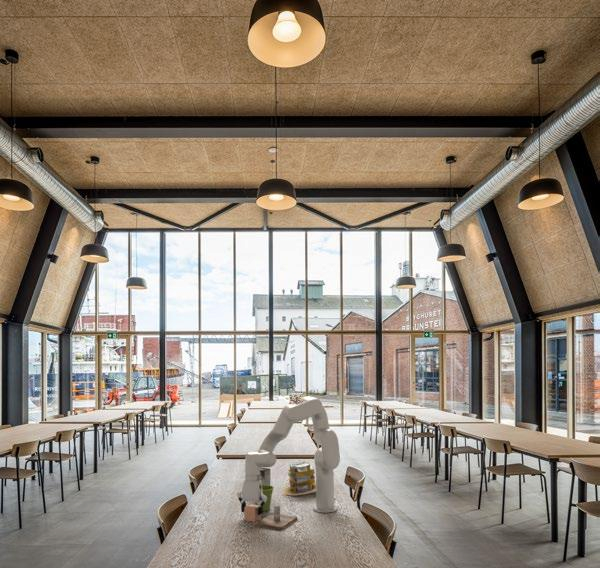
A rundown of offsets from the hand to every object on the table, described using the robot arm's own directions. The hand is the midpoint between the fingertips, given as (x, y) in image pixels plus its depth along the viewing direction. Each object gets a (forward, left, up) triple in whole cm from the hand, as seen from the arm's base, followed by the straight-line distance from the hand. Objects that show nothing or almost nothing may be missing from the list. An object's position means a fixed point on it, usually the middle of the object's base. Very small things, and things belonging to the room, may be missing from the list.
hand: (251, 513), depth 250 cm
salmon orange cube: (0, 0, -3) cm, 3 cm away
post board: (0, +14, -3) cm, 15 cm away
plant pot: (-15, -3, -3) cm, 16 cm away
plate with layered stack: (-55, +2, -3) cm, 55 cm away
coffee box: (-33, -15, -3) cm, 37 cm away
